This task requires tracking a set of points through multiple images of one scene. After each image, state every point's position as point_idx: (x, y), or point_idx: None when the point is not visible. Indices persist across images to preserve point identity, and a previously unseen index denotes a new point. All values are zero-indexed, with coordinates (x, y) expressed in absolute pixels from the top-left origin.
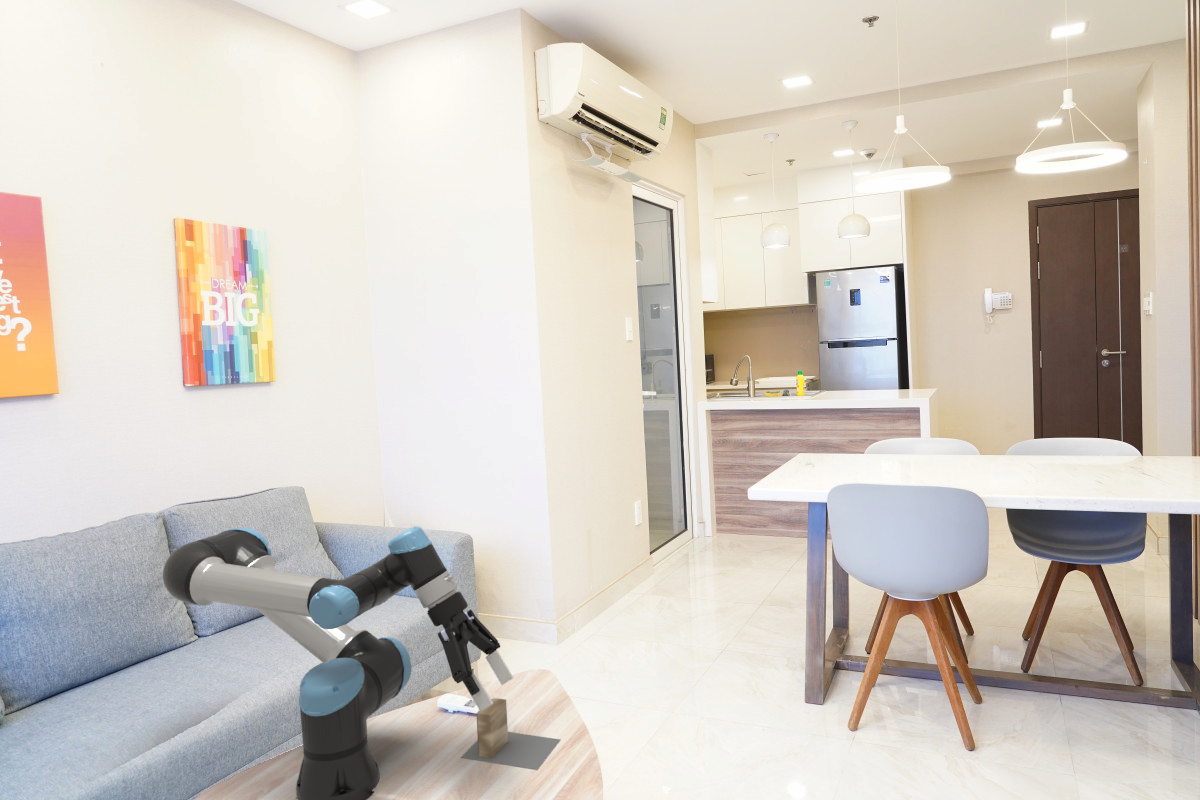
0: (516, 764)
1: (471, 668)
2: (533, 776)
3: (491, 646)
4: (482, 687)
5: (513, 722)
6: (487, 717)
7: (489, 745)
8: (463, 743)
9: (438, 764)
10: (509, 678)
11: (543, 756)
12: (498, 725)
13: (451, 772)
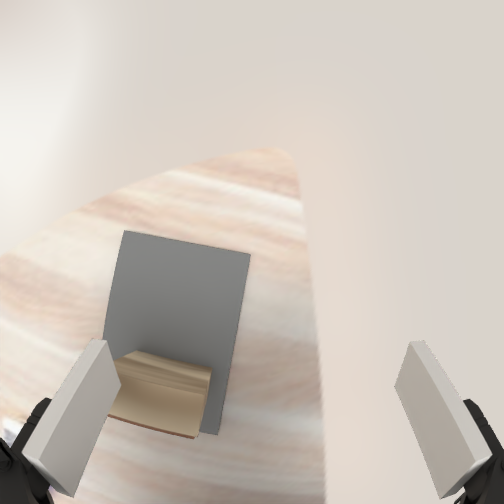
0: (233, 306)
1: (488, 486)
2: (259, 262)
3: (30, 494)
4: (456, 395)
5: (55, 354)
6: (203, 402)
7: (209, 380)
8: (147, 443)
9: (234, 467)
10: (107, 355)
11: (195, 253)
12: (166, 372)
13: (261, 435)
